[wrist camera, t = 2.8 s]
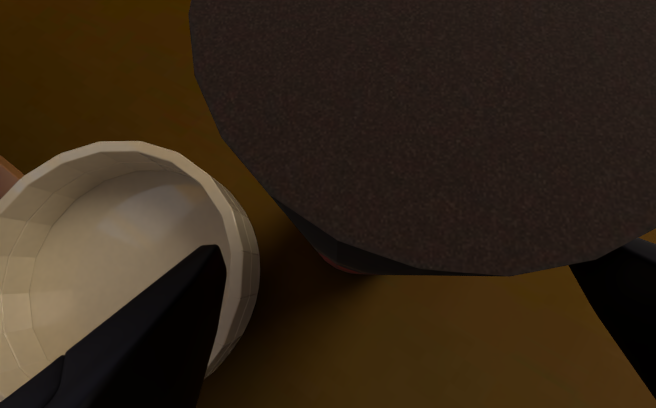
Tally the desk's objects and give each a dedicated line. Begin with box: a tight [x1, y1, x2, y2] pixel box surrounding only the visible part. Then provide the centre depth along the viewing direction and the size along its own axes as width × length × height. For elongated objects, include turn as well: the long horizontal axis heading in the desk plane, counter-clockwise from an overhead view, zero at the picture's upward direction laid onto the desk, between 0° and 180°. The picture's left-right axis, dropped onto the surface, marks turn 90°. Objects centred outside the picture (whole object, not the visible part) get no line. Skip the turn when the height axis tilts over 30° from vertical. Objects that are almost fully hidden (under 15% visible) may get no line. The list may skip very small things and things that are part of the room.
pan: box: [0, 141, 260, 402], centre depth 16 cm, size 13×13×4 cm
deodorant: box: [189, 0, 656, 276], centre depth 11 cm, size 6×6×15 cm
